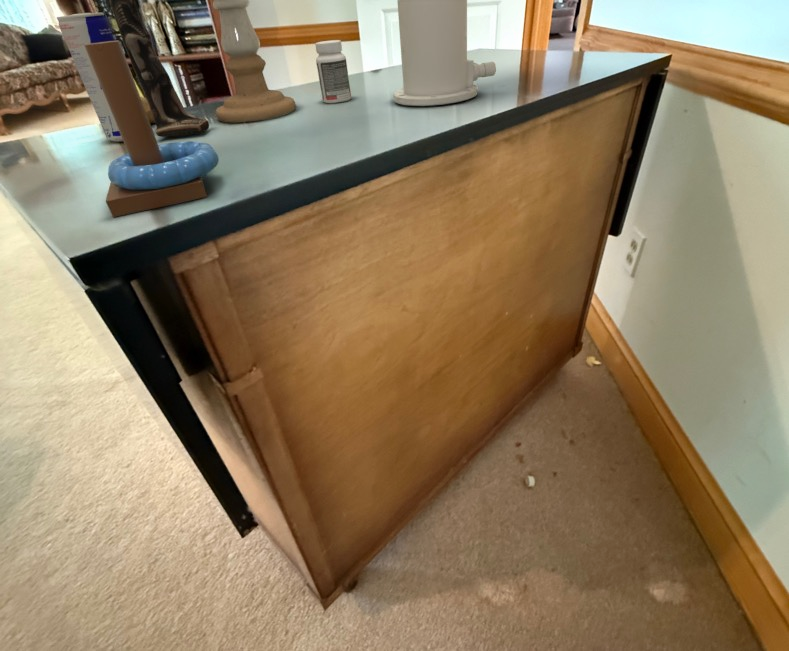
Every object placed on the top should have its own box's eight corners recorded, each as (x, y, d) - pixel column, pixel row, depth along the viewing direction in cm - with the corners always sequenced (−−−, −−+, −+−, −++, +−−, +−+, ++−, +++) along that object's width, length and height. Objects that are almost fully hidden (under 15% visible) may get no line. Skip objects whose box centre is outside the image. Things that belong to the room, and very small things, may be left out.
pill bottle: (357, 98, 77) (349, 39, 72) (334, 104, 74) (325, 43, 69) (339, 96, 80) (331, 39, 75) (317, 102, 77) (307, 43, 72)
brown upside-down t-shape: (200, 174, 49) (154, 34, 41) (207, 197, 43) (154, 37, 35) (118, 191, 47) (54, 46, 39) (113, 217, 40) (35, 52, 33)
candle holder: (243, 106, 80) (205, -43, 68) (309, 104, 76) (280, -54, 65) (201, 124, 70) (149, -45, 59) (273, 122, 67) (233, -58, 55)
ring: (212, 153, 49) (206, 134, 48) (227, 176, 42) (221, 153, 41) (114, 173, 46) (105, 153, 45) (113, 201, 39) (102, 178, 38)
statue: (204, 136, 64) (146, -51, 52) (152, 142, 63) (82, -44, 52) (211, 129, 67) (158, -48, 55) (162, 134, 67) (98, -42, 55)
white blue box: (133, 142, 64) (81, 12, 56) (99, 143, 66) (43, 17, 57) (157, 132, 69) (113, 10, 60) (125, 133, 70) (77, 14, 61)
